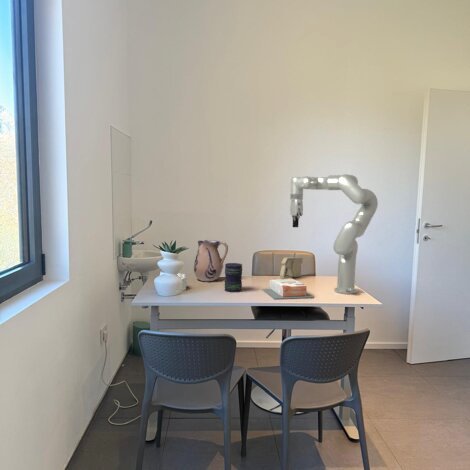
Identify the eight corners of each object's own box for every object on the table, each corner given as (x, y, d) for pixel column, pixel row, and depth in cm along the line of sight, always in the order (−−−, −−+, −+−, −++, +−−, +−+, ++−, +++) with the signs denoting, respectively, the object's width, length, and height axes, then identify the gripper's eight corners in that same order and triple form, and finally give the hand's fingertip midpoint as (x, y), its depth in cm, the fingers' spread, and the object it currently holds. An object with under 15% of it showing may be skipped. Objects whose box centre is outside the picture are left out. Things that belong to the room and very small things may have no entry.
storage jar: (228, 287, 241) (229, 257, 239) (244, 289, 237) (245, 258, 235) (221, 291, 231) (222, 259, 230) (238, 293, 228) (238, 261, 226)
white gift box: (186, 286, 241) (186, 272, 240) (186, 291, 228) (186, 276, 227) (167, 286, 240) (168, 272, 239) (167, 292, 227) (167, 276, 226)
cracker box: (291, 277, 242) (307, 285, 222) (291, 287, 243) (306, 296, 223) (269, 278, 238) (283, 286, 218) (268, 288, 239) (282, 297, 219)
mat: (313, 298, 221) (313, 297, 221) (274, 299, 216) (274, 298, 216) (298, 288, 242) (298, 287, 242) (262, 290, 237) (262, 288, 237)
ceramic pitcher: (194, 277, 269) (195, 239, 266) (227, 277, 270) (227, 239, 267) (192, 282, 251) (193, 242, 249) (227, 283, 252) (228, 242, 250)
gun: (283, 281, 261) (285, 258, 261) (278, 281, 263) (280, 257, 263) (301, 279, 281) (303, 257, 281) (297, 278, 283) (298, 257, 283)
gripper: (307, 197, 247) (305, 228, 249) (297, 197, 261) (296, 226, 263) (295, 197, 245) (294, 228, 247) (286, 197, 260) (285, 226, 261)
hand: (295, 227), depth 255 cm, fingers closed
